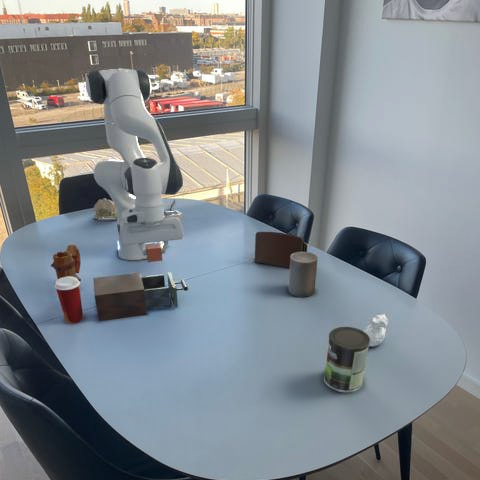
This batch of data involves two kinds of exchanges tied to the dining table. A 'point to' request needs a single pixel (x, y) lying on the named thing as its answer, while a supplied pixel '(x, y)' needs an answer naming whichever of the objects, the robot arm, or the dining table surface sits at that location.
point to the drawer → (161, 291)
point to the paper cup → (70, 298)
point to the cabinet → (119, 296)
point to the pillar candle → (302, 274)
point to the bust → (377, 330)
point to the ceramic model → (105, 210)
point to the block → (154, 252)
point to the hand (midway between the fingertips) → (153, 254)
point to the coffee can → (346, 359)
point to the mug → (67, 262)
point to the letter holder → (277, 248)
